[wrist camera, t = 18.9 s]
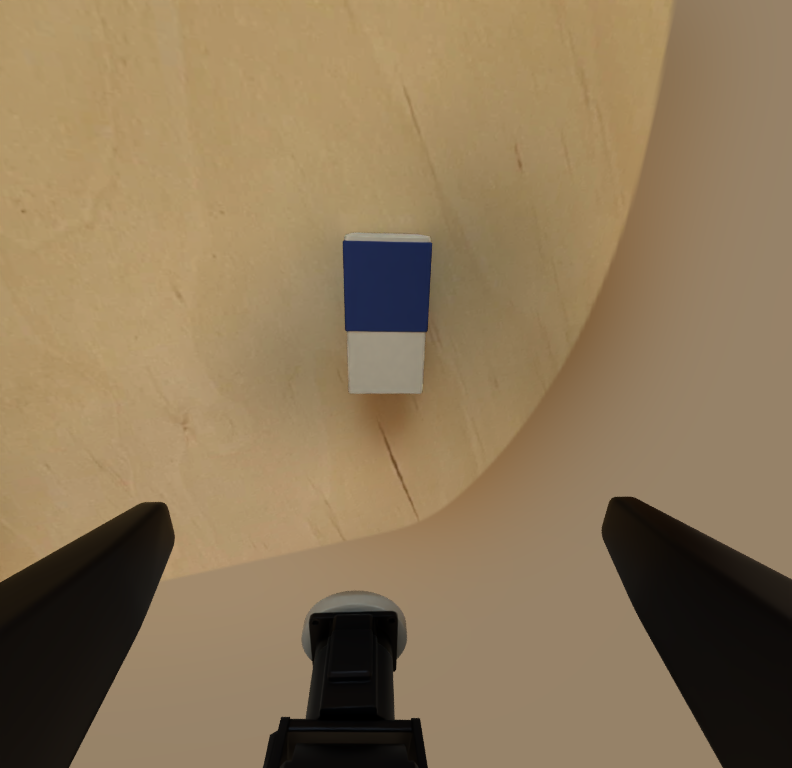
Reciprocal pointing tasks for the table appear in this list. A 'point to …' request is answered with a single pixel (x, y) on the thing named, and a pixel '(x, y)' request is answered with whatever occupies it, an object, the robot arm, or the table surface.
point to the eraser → (386, 311)
